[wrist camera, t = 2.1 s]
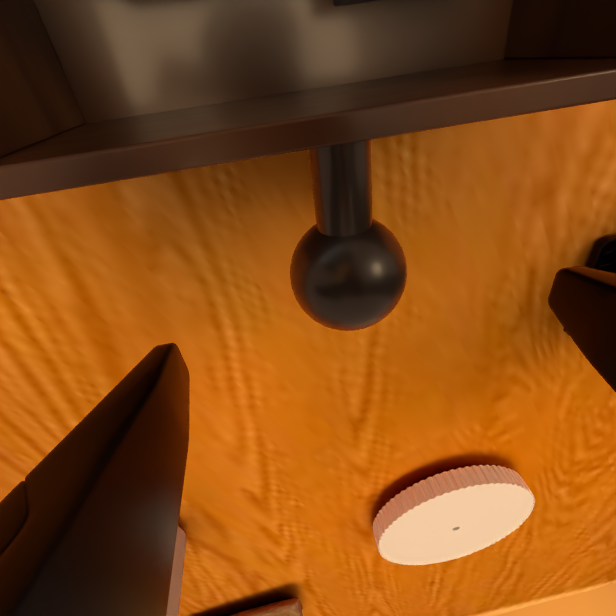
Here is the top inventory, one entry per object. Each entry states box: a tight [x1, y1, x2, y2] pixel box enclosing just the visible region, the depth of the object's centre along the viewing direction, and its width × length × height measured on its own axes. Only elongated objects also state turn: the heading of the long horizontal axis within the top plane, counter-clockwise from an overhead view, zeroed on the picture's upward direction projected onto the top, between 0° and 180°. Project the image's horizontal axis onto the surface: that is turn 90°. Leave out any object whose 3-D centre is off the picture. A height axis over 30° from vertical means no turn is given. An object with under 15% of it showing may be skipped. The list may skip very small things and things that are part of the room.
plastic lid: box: [372, 465, 535, 565], centre depth 32 cm, size 14×14×2 cm
